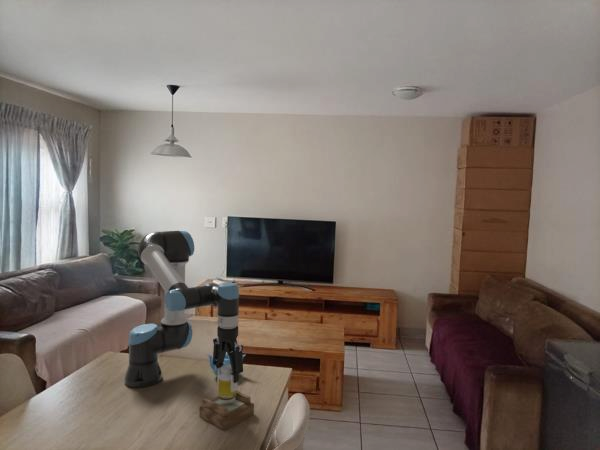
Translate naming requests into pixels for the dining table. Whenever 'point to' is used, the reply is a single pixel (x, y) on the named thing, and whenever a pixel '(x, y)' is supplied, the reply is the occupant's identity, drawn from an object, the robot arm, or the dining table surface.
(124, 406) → the dining table surface
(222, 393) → the pill bottle
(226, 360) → the teapot
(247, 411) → the wooden tray
